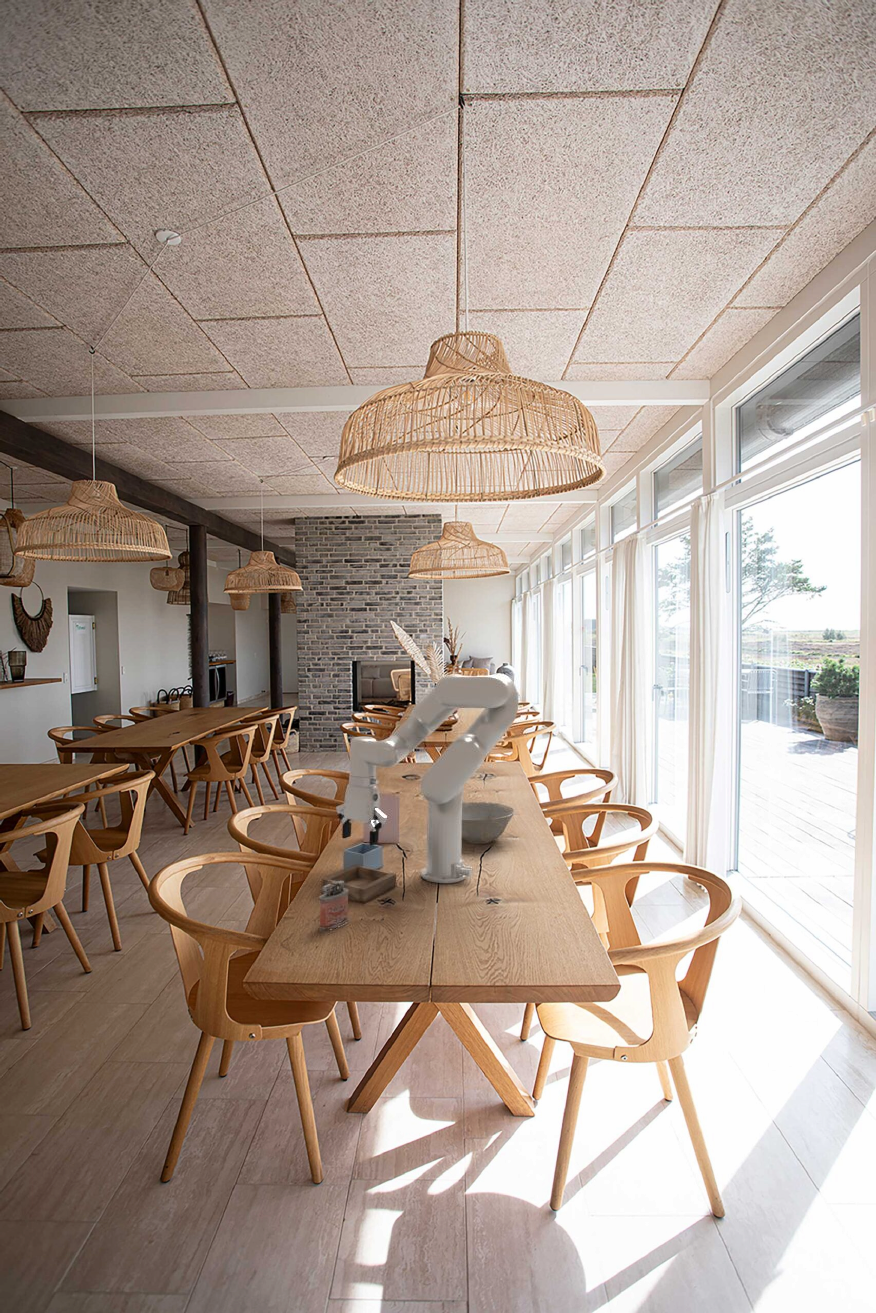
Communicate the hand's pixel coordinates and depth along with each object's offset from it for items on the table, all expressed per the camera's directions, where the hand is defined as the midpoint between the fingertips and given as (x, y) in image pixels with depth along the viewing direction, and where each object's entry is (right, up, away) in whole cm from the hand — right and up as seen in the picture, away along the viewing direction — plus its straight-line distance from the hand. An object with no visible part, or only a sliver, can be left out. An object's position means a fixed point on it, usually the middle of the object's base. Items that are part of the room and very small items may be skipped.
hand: (359, 840), depth 203 cm
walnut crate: (+2, -9, -16) cm, 18 cm away
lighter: (-2, -10, -38) cm, 39 cm away
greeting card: (+3, -7, +27) cm, 28 cm away
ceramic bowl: (+35, -8, +29) cm, 47 cm away
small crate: (+1, -8, 0) cm, 8 cm away
